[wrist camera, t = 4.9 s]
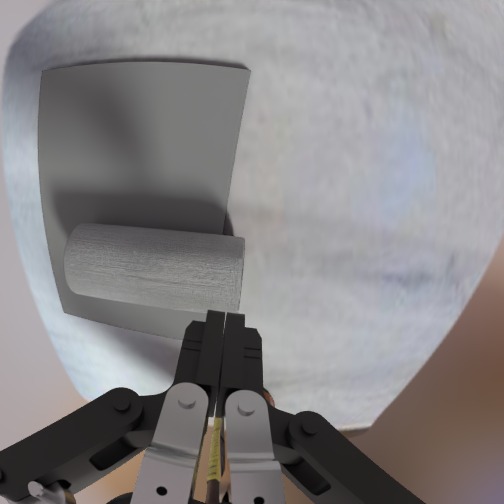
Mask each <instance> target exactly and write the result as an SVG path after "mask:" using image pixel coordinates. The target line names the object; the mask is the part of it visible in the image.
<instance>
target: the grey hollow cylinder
mask: <svg viewBox="0 0 504 504" xmlns="http://www.w3.org/2000/svg"><path fill="white" fill-rule="evenodd" d="M244 251H245V239H244V238H242V237H236V236H227V235H217V234H207V233H196V232H186V231H175V230H164V229H153V228H142V227H131V226H119V225H107V224H95V223H81V224H79V225H77V226H76V227H75V228H74V229H73V231H72V232H71V234H70V236H69V238H68V240H67V243H66V247H65V251H64V259H63V267H64V275H65V279H66V282H67V284H68V286H69V288H70V289H71V290H72V291H73V292H74V293H76V294H80V295H85V296H91V297H96V298H102V299H108V300H114V301H120V302H126V303H133V304H139V305H146V306H153V307H160V308H168V309H175V310H183V311H191V312H200V313H207V311H208V310H215V311H222V312H225V315H227V312H230V313H238V310H239V304H240V295H241V286H242V276H243V265H244Z"/></svg>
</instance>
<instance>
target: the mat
mask: <svg viewBox="0 0 504 504" xmlns="http://www.w3.org/2000/svg"><path fill="white" fill-rule="evenodd" d="M250 72H251V70H246V69H239V68H232V67H224V66H215V65H205V64H192V63H176V62H117V63H101V64H89V65H80V66H71V67H64V68H57V69H51V70H45V71H42V77H41V87H40V98H39V116H38V161H39V179H40V192H41V202H42V210H43V218H44V225H45V232H46V238H47V243H48V249H49V254H50V259H51V264H52V268H53V273H54V277H55V281H56V285H57V289H58V293H59V297H60V301H61V304H62V308H63V311H64V313H67V314H70V315H74V316H77V317H81V318H85V319H88V320H92V321H96V322H100V323H104V324H108V325H112V326H116V327H121V328H125V329H129V330H134V331H138V332H143V333H148V334H153V335H158V336H163V337H168V338H174V339H179V340H183V338H184V334H185V330H186V328H187V327H188V325H189V324H190V323H191V322H192V321H193V320H195V321H202V322H206V316H207V313H200V312H191V311H183V310H175V309H168V308H160V307H153V306H146V305H139V304H133V303H126V302H120V301H114V300H108V299H102V298H96V297H91V296H85V295H80V294H76V293H74V292H73V291H72V290H71V289H70V288H69V286H68V284H67V282H66V279H65V275H64V267H63V259H64V251H65V247H66V243H67V240H68V238H69V236H70V234H71V232H72V231H73V229H74V228H75V227H76V226H77V225H79V224H81V223H95V224H107V225H119V226H131V227H142V228H153V229H164V230H175V231H186V232H196V233H207V234H217V235H222V234H223V228H224V221H225V214H226V208H227V202H228V195H229V189H230V183H231V177H232V171H233V165H234V159H235V153H236V147H237V142H238V136H239V130H240V125H241V119H242V114H243V109H244V103H245V98H246V93H247V87H248V82H249V77H250Z"/></svg>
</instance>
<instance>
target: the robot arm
mask: <svg viewBox="0 0 504 504" xmlns="http://www.w3.org/2000/svg"><path fill="white" fill-rule="evenodd" d="M224 322H225V327H224ZM223 331H224V334H223ZM216 397H217V402H216ZM215 403H216V413H215V417H216V418H221V422H220V432H219V467H220V483H219V500H220V503H217V504H286V501H285V494H284V487H283V479H282V472H283V473H284V474H285V475H286V476H287V477H288V478H289V479H290V480H291V481H292V482H293V483H294V484H295V485H296V486H297V487H298V488H299V489H300V490H301V491H302V492H303V493H304V494H305V495H306V496H307V497H308V498H309V499H310V500H312V501H313V502H314V503H315V504H426V503H424V502H423V501H422V500H420V499H419V498H418V497H416V496H415V495H414V494H412V493H411V492H410V491H409V490H407V489H406V488H405V487H404V486H402V485H401V484H400V483H398V482H397V481H396V480H395V479H393V478H392V477H391V476H390V475H389V474H387V473H386V472H385V471H384V470H382V469H381V468H380V467H379V466H378V465H376V464H375V463H374V462H373V461H372V460H371V459H369V458H368V457H367V456H366V455H365V454H364V453H362V452H361V451H360V450H359V449H358V448H357V447H355V446H354V445H353V444H352V443H351V442H350V441H349V440H348V439H346V438H345V437H344V436H343V435H342V434H341V433H340V432H339V431H338V430H337V429H335V428H334V427H333V426H332V425H331V424H330V423H329V422H328V421H327V420H326V419H325V418H324V417H322V416H321V415H320V414H318V413H315V412H312V411H303V412H300V413H297V414H296V415H293V414H290V413H287V412H284V411H281V410H278V409H276V408H275V407H273V406H272V405H271V404H270V403H269V402H268V401H267V400H266V398H265V396H264V392H263V365H262V338H261V337H260V335H259V333H258V331H257V329H255V328H247V327H245V314H238V313H230V312H227V315H226V321H225V312H222V311H215V310H208V311H207V316H206V322H202V321H195V320H193V321H192V322H191V323H190V324H189V325H188V327H187V328H186V330H185V334H184V338H183V342H182V347H181V351H180V356H179V360H178V365H177V369H176V374H175V378H174V382H173V384H172V385H171V387H170V388H169V389H168V390H166V391H165V392H163V393H160V394H157V395H148V396H139V395H138V394H137V393H136V392H134V391H133V390H131V389H128V388H123V387H119V388H114V389H112V390H110V391H108V392H106V393H105V394H103V395H101V396H100V397H98V398H96V399H95V400H93V401H91V402H90V403H88V404H86V405H84V406H83V407H81V408H79V409H77V410H76V411H74V412H72V413H71V414H69V415H67V416H65V417H63V418H62V419H60V420H58V421H56V422H54V423H53V424H51V425H49V426H47V427H45V428H44V429H42V430H40V431H38V432H36V433H34V434H32V435H31V436H29V437H27V438H25V439H23V440H21V441H19V442H17V443H15V444H14V445H12V446H10V447H8V448H6V449H4V450H2V451H0V495H1V496H2V497H4V498H5V499H6V500H7V501H8V503H9V504H76V500H75V498H74V494H75V493H77V492H79V491H81V490H83V489H84V488H86V487H87V486H89V485H91V484H93V483H94V482H96V481H97V480H99V479H101V478H102V477H104V476H106V475H107V474H109V473H110V472H112V471H113V470H115V469H116V468H118V467H120V466H121V465H123V464H124V463H126V462H127V461H129V460H130V459H131V458H133V457H134V456H136V455H137V454H139V453H140V452H142V451H143V450H145V449H146V448H147V449H146V451H145V454H144V457H143V460H142V463H141V467H140V470H139V474H138V477H137V481H136V484H135V488H134V492H130V493H126V494H123V495H120V496H118V497H116V498H114V499H113V500H111V501H110V502H108V503H107V504H206V503H203V502H200V501H197V500H194V499H193V496H194V491H195V485H196V478H197V472H198V467H199V462H200V457H201V451H202V446H203V441H204V436H205V434H206V432H207V426H208V418H209V417H213V416H214V410H215ZM281 471H282V472H281Z"/></svg>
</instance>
